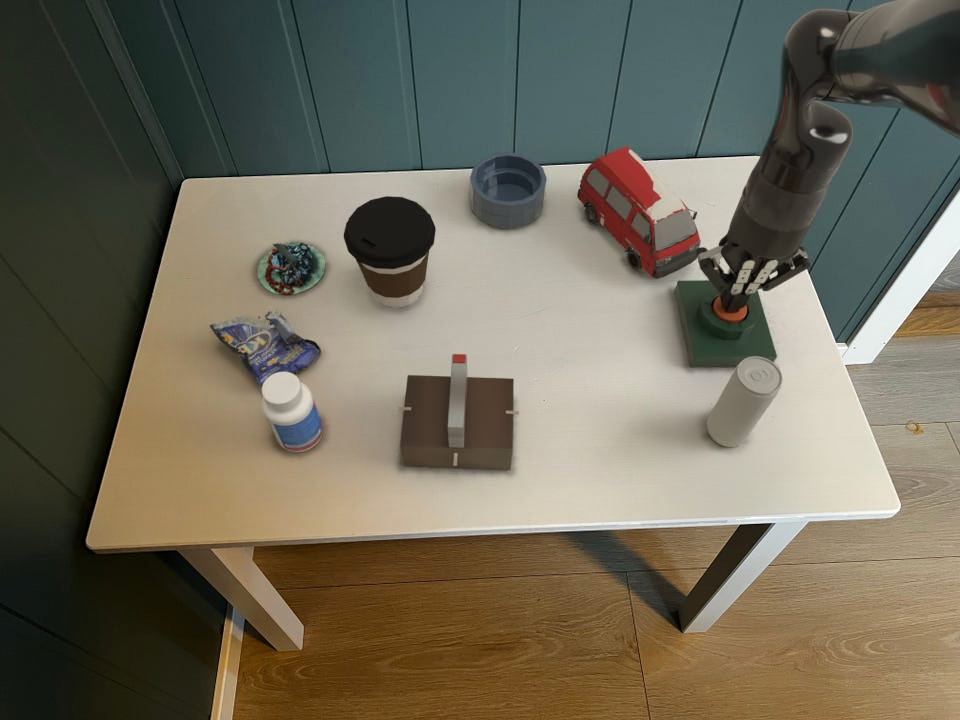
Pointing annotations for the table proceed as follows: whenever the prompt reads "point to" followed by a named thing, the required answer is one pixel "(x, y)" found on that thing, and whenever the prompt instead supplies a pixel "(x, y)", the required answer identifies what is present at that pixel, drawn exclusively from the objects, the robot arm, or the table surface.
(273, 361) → the snack package
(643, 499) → the table surface
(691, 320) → the green button base
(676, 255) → the toy car
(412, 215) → the coffee cup
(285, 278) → the dish
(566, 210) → the table surface
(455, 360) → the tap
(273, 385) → the pill bottle
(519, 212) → the grey round pet bowl
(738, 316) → the button
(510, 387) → the base
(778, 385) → the beverage can
